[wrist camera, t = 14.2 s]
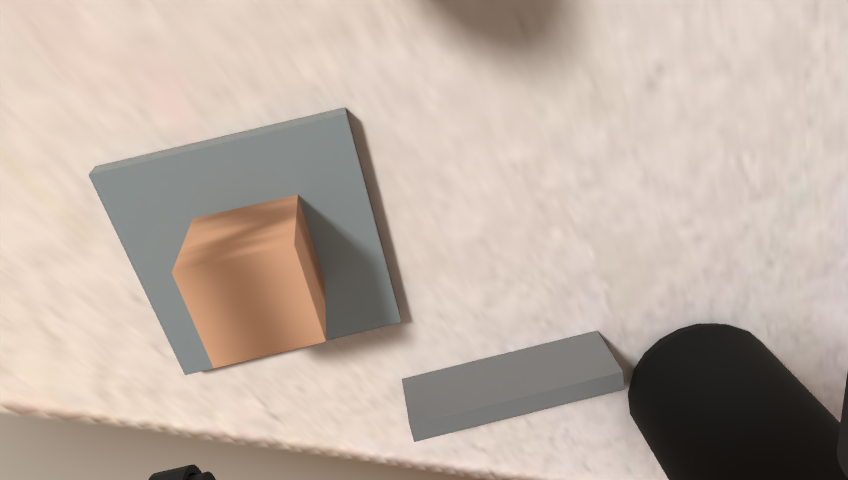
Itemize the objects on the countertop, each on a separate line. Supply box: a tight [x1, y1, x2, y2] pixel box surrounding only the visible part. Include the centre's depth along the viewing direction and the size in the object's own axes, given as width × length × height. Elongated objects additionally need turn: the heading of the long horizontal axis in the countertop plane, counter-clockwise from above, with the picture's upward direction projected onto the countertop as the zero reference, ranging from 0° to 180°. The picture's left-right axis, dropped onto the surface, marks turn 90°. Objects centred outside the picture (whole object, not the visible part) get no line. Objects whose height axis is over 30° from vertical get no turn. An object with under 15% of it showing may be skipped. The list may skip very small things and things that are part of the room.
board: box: [89, 108, 401, 375], centre depth 39 cm, size 14×14×1 cm
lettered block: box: [172, 194, 326, 368], centre depth 36 cm, size 6×6×6 cm
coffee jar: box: [628, 324, 848, 480], centre depth 42 cm, size 11×11×18 cm
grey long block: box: [402, 331, 624, 442], centre depth 45 cm, size 14×4×4 cm, turn 101°
